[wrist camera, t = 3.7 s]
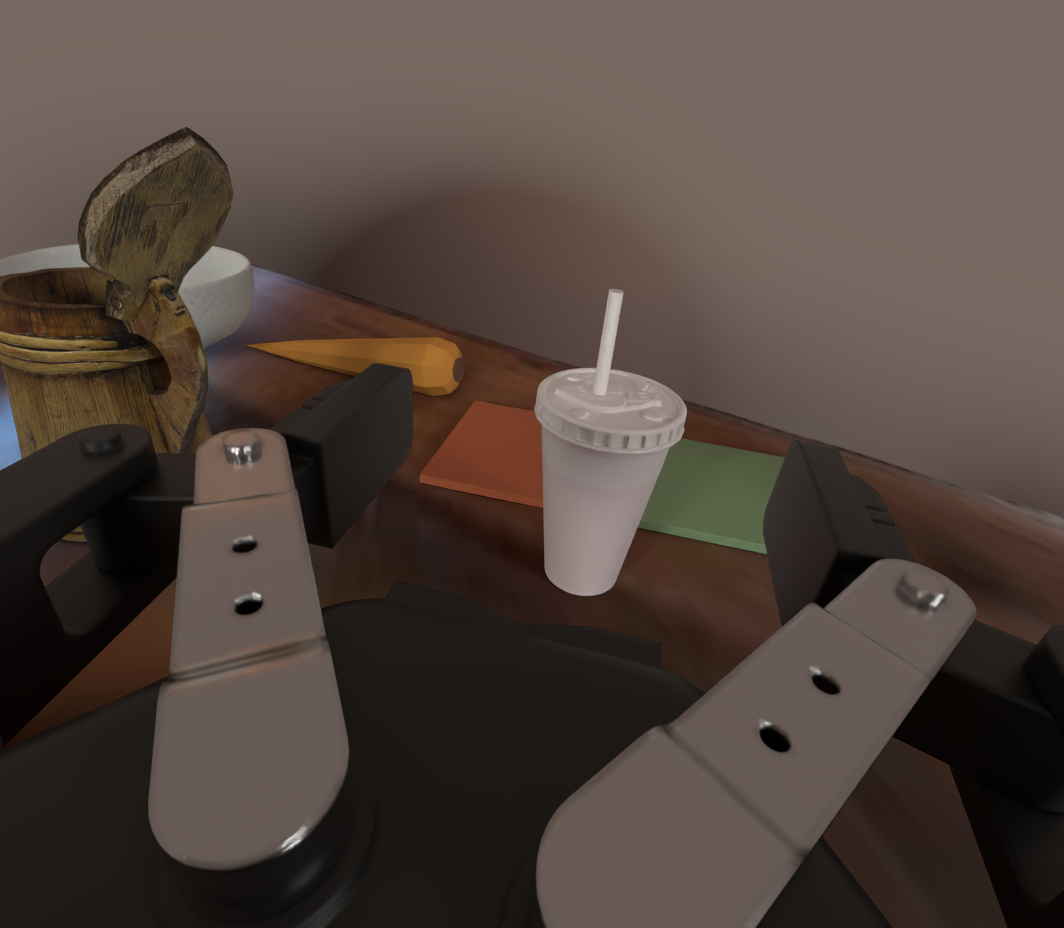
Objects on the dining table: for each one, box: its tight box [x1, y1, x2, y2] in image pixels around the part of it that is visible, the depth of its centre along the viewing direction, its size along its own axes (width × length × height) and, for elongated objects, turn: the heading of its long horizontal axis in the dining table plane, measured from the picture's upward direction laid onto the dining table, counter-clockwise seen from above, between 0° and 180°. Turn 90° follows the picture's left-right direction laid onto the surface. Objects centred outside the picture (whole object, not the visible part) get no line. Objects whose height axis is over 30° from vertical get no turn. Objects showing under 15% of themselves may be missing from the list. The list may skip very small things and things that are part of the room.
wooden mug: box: [0, 127, 233, 542], centre depth 26 cm, size 9×14×18 cm, turn 68°
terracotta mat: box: [420, 401, 543, 508], centre depth 38 cm, size 11×11×1 cm
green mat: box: [638, 438, 785, 554], centre depth 36 cm, size 11×11×1 cm
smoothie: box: [534, 289, 687, 596], centre depth 25 cm, size 6×6×14 cm
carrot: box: [247, 337, 464, 396], centre depth 46 cm, size 20×4×4 cm, turn 72°
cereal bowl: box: [0, 244, 254, 350], centre depth 45 cm, size 17×17×7 cm
